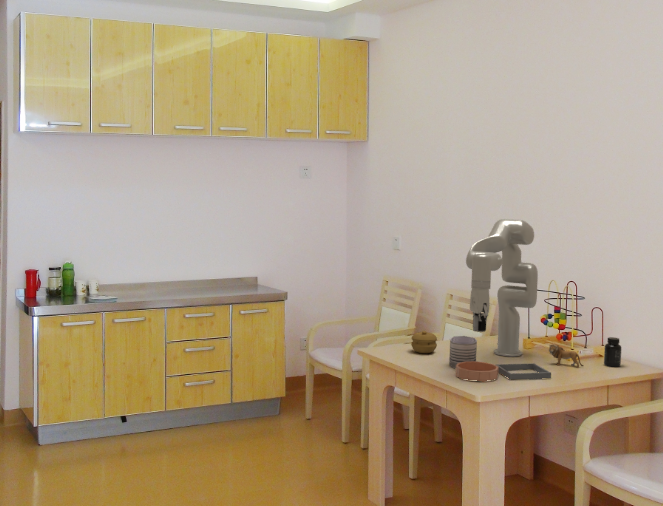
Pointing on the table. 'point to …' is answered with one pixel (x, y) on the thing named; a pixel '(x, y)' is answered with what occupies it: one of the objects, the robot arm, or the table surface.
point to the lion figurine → (564, 354)
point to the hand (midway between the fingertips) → (479, 329)
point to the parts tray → (540, 375)
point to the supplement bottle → (612, 353)
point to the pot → (424, 342)
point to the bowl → (477, 371)
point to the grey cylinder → (476, 323)
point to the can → (462, 350)
